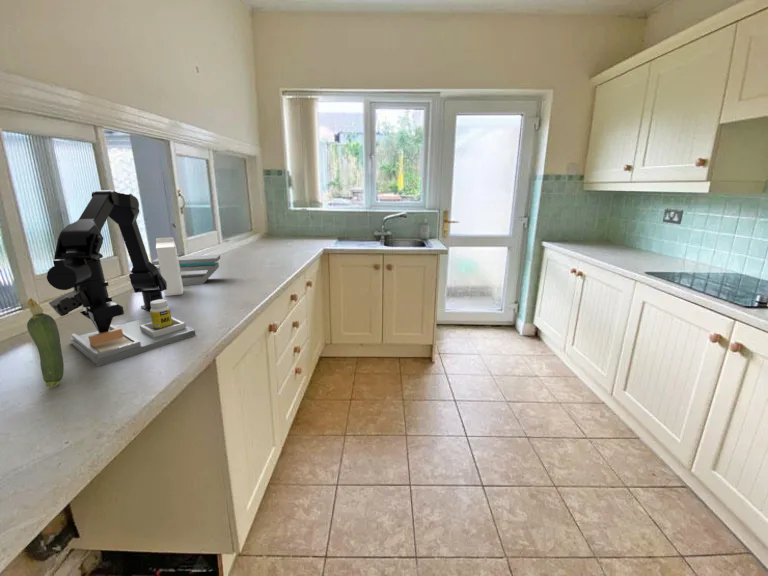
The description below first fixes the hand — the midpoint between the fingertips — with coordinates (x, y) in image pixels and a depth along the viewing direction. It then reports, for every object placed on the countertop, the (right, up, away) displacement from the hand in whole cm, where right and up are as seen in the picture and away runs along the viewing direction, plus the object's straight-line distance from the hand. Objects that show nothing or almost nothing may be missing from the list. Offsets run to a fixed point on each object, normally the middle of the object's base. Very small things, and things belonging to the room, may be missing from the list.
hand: (103, 336), depth 95 cm
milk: (-9, +11, +48) cm, 50 cm away
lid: (+4, -2, -2) cm, 5 cm away
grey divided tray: (+4, -1, +6) cm, 7 cm away
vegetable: (+4, -8, -17) cm, 19 cm away
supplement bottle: (+10, +1, +9) cm, 14 cm away
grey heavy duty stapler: (-11, +15, +64) cm, 67 cm away
